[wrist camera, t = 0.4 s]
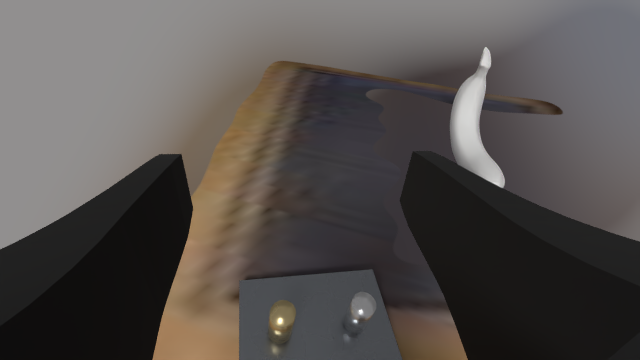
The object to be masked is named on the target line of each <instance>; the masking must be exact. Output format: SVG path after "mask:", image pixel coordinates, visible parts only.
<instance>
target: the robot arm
mask: <svg viewBox="0 0 640 360" xmlns="http://www.w3.org/2000/svg"><path fill="white" fill-rule="evenodd" d="M400 202H401V206H402V209H403V212H404V215H405V218H406V220H407V223H408V226H409V228H410V230H411V232H412V234H413V236H414V238H415V240H416V242H417V244H418V246H419V247H420V250H421V251H422V253H423V255H424V257H425V259H426V261H427V263H428V265H429V267H430V269H431V271H432V272H433V274H434V276H435V278H436V280H437V282H438V284H439V286H440V288H441V290H442V293H443V295H444V297H445V300H446V302H447V305H448V307H449V310H450V312H451V315H452V317H453V320H454V322H455V325H456V328H457V330H458V333H459V336H460V339H461V342H462V344H463V347H464V350H465V353H466V355H467V358H468V360H640V242H639V241H635V240H632V239H629V238H626V237H623V236H619V235H616V234H613V233H610V232H607V231H605V230H602V229H599V228H596V227H593V226H590V225H587V224H584V223H582V222H579V221H576V220H574V219H571V218H568V217H566V216H563V215H561V214H558V213H556V212H554V211H551V210H548V209H546V208H544V207H541V206H539V205H537V204H534V203H532V202H530V201H528V200H526V199H524V198H521V197H519V196H517V195H515V194H513V193H511V192H509V191H507V190H505V189H503V188H501V187H499V186H497V185H495V184H493V183H491V182H490V181H488V180H486V179H484V178H482V177H480V176H478V175H476V174H475V173H473V172H471V171H469V170H467V169H465V168H464V167H462V166H460V165H458V164H456V163H454V162H452V161H450V160H449V159H447V158H445V157H443V156H441V155H438V154H436V153H433V152H431V151H413V153H412V157H411V160H410V164H409V168H408V171H407V175H406V179H405V183H404V187H403V191H402V194H401V198H400ZM192 211H193V206H192V201H191V196H190V192H189V187H188V183H187V178H186V173H185V169H184V164H183V160H182V155H181V154H159V155H158V156H156V157H154V158H152V159H151V160H149V161H148V162H146V163H145V164H143V165H142V166H140V167H139V168H138V169H136V170H135V171H133V172H132V173H131V174H129V175H128V176H126V177H125V178H123V179H122V180H120V181H119V182H117V183H116V184H114V185H113V186H112V187H110V188H109V189H107V190H106V191H104V192H103V193H101V194H99V195H98V196H96V197H95V198H93V199H91V200H90V201H88V202H87V203H85V204H83V205H82V206H80V207H79V208H77V209H76V210H74V211H72V212H71V213H69V214H67V215H66V216H64V217H62V218H60V219H59V220H57V221H55V222H53V223H51V224H50V225H48V226H46V227H44V228H42V229H40V230H38V231H36V232H35V233H33V234H31V235H29V236H27V237H25V238H23V239H21V240H19V241H17V242H15V243H13V244H11V245H9V246H7V247H5V248H2V249H0V360H152V359H153V354H154V350H155V345H156V341H157V336H158V331H159V327H160V322H161V318H162V315H163V311H164V308H165V304H166V301H167V298H168V295H169V292H170V289H171V286H172V283H173V280H174V277H175V274H176V271H177V268H178V266H179V263H180V260H181V257H182V254H183V250H184V247H185V244H186V241H187V238H188V234H189V229H190V224H191V218H192Z"/></svg>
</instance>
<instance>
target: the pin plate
mask: <svg viewBox="0 0 640 360" xmlns="http://www.w3.org/2000/svg"><path fill="white" fill-rule="evenodd" d="M239 360H402V357H401V354H400V351H399V348H398V345H397V342H396V339H395V336H394V333H393V330H392V327H391V324H390V321H389V318H388V315H387V312H386V309H385V306H384V303H383V300H382V297H381V293H380V290H379V287H378V284H377V281H376V278H375V275H374V272H373V269H370V270H358V271H347V272H335V273H323V274H311V275H300V276H288V277H276V278H264V279H253V280H241V281H240V299H239Z"/></svg>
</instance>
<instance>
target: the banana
mask: <svg viewBox="0 0 640 360" xmlns="http://www.w3.org/2000/svg"><path fill="white" fill-rule="evenodd" d="M490 66H491V55H490V51H489V50H488V49H487V47H486V48H484V51H483V53H482V56H481V60H480V63H479V67H478V69H477V71H476V73H475V74H474V75H472V76H471V77H469V78H468V79H467V80H466V81H465V82H464V83H463V84H462V85H461V87H460V89H459V90H458V92H457V94H456V97H455V99H454V102H453V106H452V111H451V117H450V141H451V149H452V152H453V155H454V158H455V160H456V162H457V164H458V165H460V166H462V167H464V168H465V169H467V170H469V171H471V172H473V173H475V174H476V175H478V176H480V177H482V178H484V179H486V180H488V181H490V182H491V183H493V184H495V185H497V186H499V187H501V188H503V186H504V184H505V179H504V176H503V173H502V171H501V169H500V168H499V166H498V165H497V164H496V163H495V162H494V160H493V159H491V158H490V156H489V155H488V154H487V152H486V151H485V149H484V147H483V144H482V141H481V137H480V131H479V118H480V112H481V108H482V104H483V99H484V95H485V90H486V74H487V72H488V69H489V68H490Z"/></svg>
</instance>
